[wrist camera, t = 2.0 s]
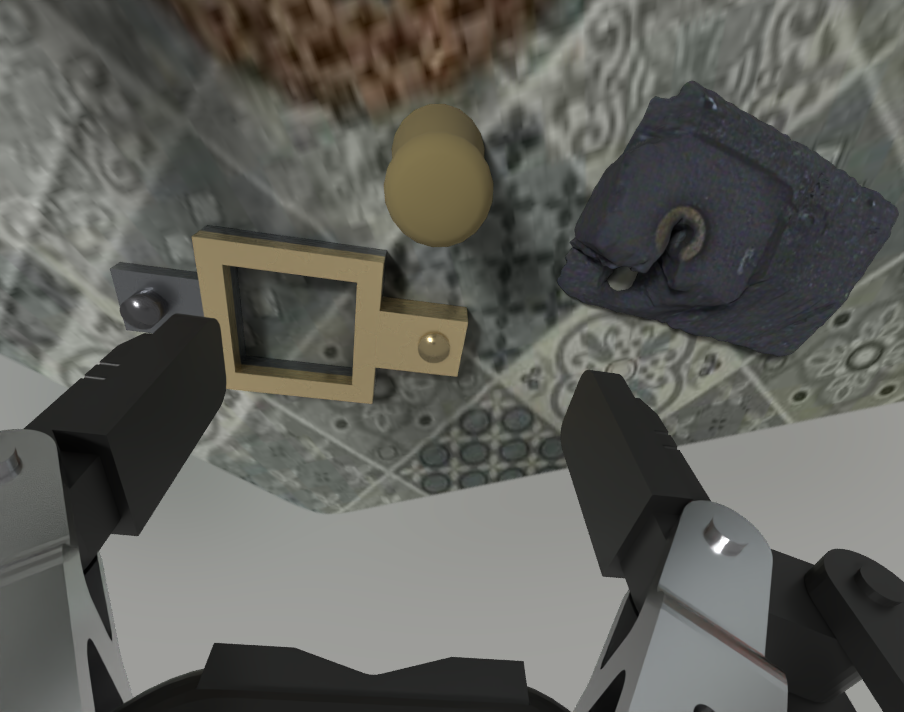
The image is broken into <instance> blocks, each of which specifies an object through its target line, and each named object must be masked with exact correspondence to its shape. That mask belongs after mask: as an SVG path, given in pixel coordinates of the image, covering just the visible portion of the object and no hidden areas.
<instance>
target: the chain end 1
mask: <svg viewBox="0 0 904 712" xmlns="http://www.w3.org/2000/svg"><path fill="white" fill-rule="evenodd" d="M200 231H206V232H214V233H221V234H228V235H235V236H242V237H249V238H256V239H264V240H271V241H278V242H285V243H292V244H299V245H306V246H314V247H321V248H328V249H335V250H342V251H349V252H357V253H364V254H371V255H378V256H385V265H384V277H383V289H382V298H383V290H384V278H385V266H386V254H387V250H380V249H373V248H366V247H359V246H352V245H345V244H338V243H331V242H324V241H316V240H309V239H302V238H295V237H288V236H281V235H274V234H267V233H260V232H253V231H246V230H239V229H232V228H225V227H217V226H210V225H207V226H205V227H204V228H203V229H201V230H200ZM110 271H111V275H112V278H113V282H114V286H115V290H116V293H117V297H118V301H119V305H120V313H121V316H122V317H123V320H124V323H125V327H126V330H130V331H139V332H148V333H154V332H155V331H156V330H157V329H158V328H159V327H160V326H161V325H162V324H163V323H164V322H166V321H167V320H168V319H169V318H170V317H171V316H172V315H173V314H176V313H179V314H187V315H194V316H201V317H204V312H203V306H202V299H201V293H200V286H199V280H198V274H197V272H191V271H184V270H176V269H168V268H161V267H153V266H145V265H138V264H130V263H122V262H119V263H118V264H116V265H115V266H113V267H112V268H110ZM230 272H231V281H232V290H233V299H234V308H235V317H236V325H237V334H238V343H239V352H240V361H241V364H245V365H254V366H263V367H272V368H281V369H290V370H299V371H308V372H317V373H326V374H335V375H344V376H353V368H350V367H341V366H332V365H323V364H314V363H305V362H296V361H288V360H279V359H270V358H261V357H252V356H246V350H245V340H244V331H243V321H242V311H241V302H240V292H239V283H238V273H237V267H236V266H230ZM381 303H382V301H381ZM376 373H377V368H376ZM375 385H376V374H375ZM374 391H375V386H374Z"/></svg>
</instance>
